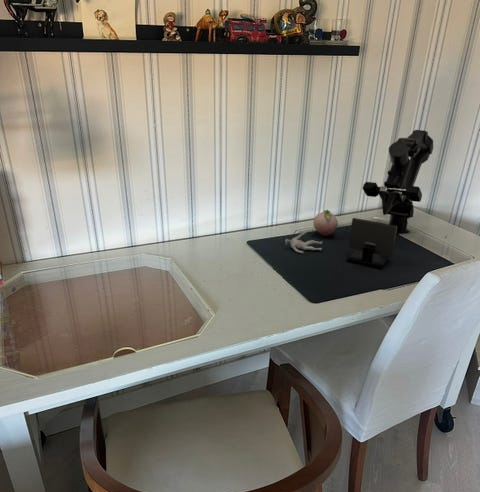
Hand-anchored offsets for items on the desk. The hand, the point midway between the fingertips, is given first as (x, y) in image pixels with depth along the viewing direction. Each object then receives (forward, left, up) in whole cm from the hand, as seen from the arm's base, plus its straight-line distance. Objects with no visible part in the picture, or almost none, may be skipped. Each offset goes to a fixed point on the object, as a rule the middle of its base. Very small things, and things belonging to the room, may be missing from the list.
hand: (384, 214), depth 162 cm
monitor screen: (+7, -9, -10) cm, 15 cm away
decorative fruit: (-17, -12, -13) cm, 24 cm away
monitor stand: (+8, -9, -13) cm, 17 cm away
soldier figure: (-7, -25, -13) cm, 29 cm away
